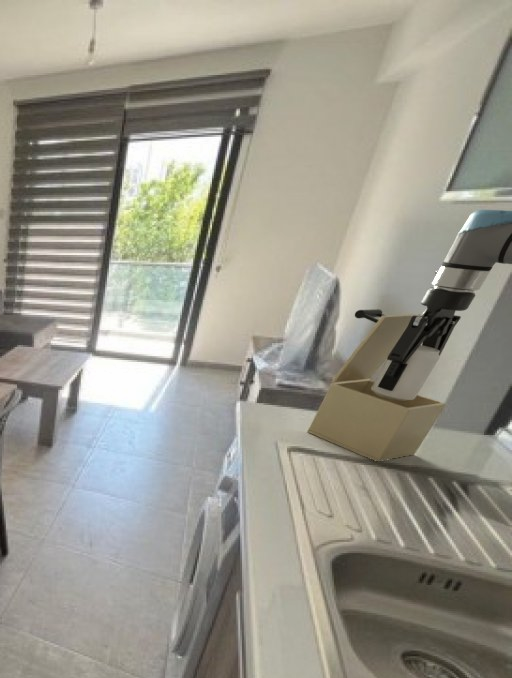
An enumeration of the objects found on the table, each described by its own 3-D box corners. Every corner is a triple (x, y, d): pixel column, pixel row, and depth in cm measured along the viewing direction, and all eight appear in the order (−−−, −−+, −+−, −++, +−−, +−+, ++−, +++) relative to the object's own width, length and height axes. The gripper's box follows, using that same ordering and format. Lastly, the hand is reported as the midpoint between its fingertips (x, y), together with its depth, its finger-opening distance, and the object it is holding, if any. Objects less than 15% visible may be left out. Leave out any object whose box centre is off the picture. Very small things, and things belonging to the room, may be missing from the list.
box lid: (423, 315, 114) (390, 301, 120) (385, 317, 109) (352, 302, 115) (370, 378, 125) (342, 363, 131) (333, 382, 120) (306, 366, 126)
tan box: (414, 454, 119) (447, 403, 112) (377, 462, 114) (409, 409, 107) (342, 426, 132) (368, 379, 126) (307, 431, 128) (331, 383, 121)
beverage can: (417, 398, 115) (447, 350, 109) (407, 404, 111) (437, 354, 105) (375, 387, 121) (401, 340, 115) (364, 392, 117) (391, 344, 111)
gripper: (458, 285, 110) (404, 378, 121) (403, 286, 104) (351, 385, 115) (502, 292, 104) (440, 389, 115) (446, 293, 97) (387, 396, 108)
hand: (396, 387), depth 115 cm, fingers closed on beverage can, 8 cm apart
